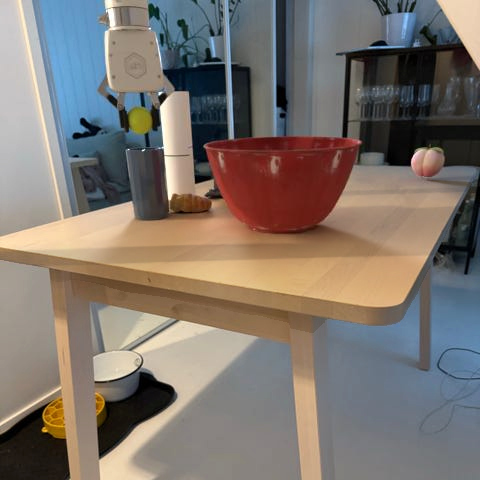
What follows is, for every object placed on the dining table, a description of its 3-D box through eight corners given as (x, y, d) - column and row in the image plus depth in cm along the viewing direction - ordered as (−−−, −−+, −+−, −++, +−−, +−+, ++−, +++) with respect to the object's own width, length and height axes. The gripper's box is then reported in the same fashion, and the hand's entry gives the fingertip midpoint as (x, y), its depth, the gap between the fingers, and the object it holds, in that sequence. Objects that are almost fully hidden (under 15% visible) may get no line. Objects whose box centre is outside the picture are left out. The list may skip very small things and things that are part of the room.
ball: (129, 135, 88) (126, 106, 86) (127, 134, 92) (123, 106, 90) (155, 134, 89) (153, 105, 87) (152, 133, 94) (149, 106, 92)
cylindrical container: (200, 196, 122) (194, 91, 111) (186, 201, 116) (178, 91, 106) (177, 195, 125) (169, 92, 114) (163, 200, 119) (152, 92, 108)
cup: (137, 221, 96) (128, 151, 91) (132, 214, 103) (124, 148, 97) (172, 218, 99) (166, 148, 93) (166, 211, 105) (159, 146, 99)
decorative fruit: (446, 178, 138) (452, 143, 134) (436, 182, 133) (441, 145, 128) (416, 176, 144) (420, 142, 140) (405, 179, 138) (409, 144, 134)
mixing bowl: (373, 241, 77) (383, 143, 71) (204, 247, 77) (198, 149, 71) (338, 208, 103) (342, 134, 96) (211, 212, 103) (207, 138, 96)
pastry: (213, 207, 109) (212, 190, 107) (210, 213, 102) (209, 195, 101) (174, 207, 109) (173, 191, 108) (168, 213, 103) (167, 196, 101)
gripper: (80, 18, 78) (97, 134, 85) (179, 20, 82) (187, 130, 90) (79, 25, 84) (95, 133, 92) (171, 27, 89) (179, 129, 96)
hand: (140, 130), depth 91 cm, fingers closed on ball, 4 cm apart
